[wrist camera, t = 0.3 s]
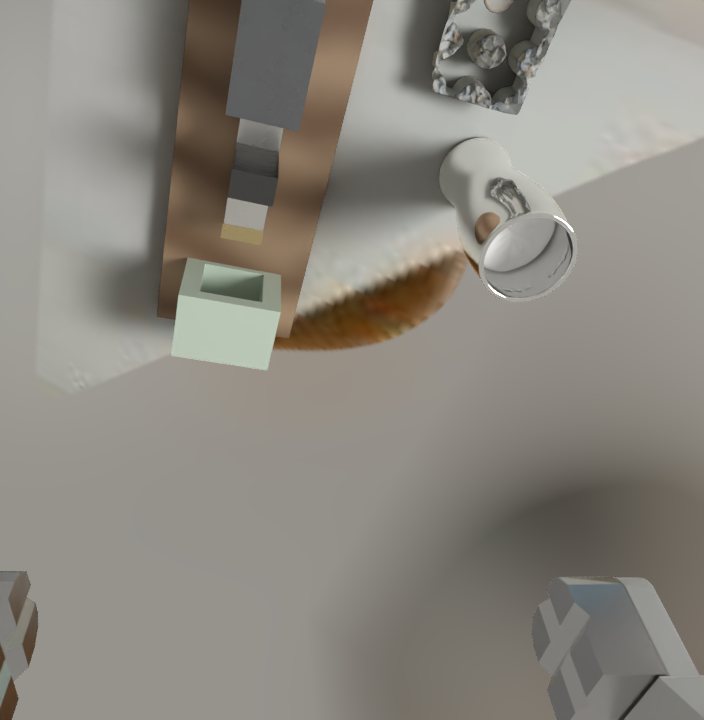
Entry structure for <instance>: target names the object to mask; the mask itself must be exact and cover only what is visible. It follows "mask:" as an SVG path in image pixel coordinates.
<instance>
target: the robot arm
mask: <svg viewBox="0 0 704 720" xmlns="http://www.w3.org/2000/svg"><path fill="white" fill-rule="evenodd" d="M30 585H31V584H30V581H29V578H28V574H27V572H26V571H25V572H23V571H0V720H12V718H13V714H14V711H15V708H16V705H17V702H18V695H17V692H16V689H15V685H14V681H15V680H16V679H17V678H18V677H19V676H20V675H21V674H22V673H23V672H24V671H25V670H26V669H27V668H28V667H29V664H30V661H31V658H32V654H33V651H34V648H35V642H36V636H37V630H38V611H37V607H36V603H35V602H34V601H32V600H31V599H29V598H28V597H27V595H28V592H29V589H30ZM547 591H548V594H549V597H550V598H549V599H548V600H546V601H545V602H543V603H541V604H539V605H538V607H537V609H536V612H535V613H534V616H533V620H532V639H533V646H534V650H535V653H536V656H537V660H538V662H539V664H540V665H541V666H542V667H543V668H544V669H545V670H546V671H547V672H548V673H549V674H550V675H551V676H552V677H551V680H550V683H549V686H548V689H547V691H548V694H549V697H550V700H551V703H552V706H553V709H554V712H555V715H556V718H557V720H704V675H703V676H702V675H699V674H698V672H697V670H696V668H695V666H694V664H693V662H692V660H691V658H690V656H689V654H688V652H687V651H686V649H685V647H684V645H683V643H682V641H681V639H680V637H679V635H678V633H677V631H676V629H675V628H674V626H673V624H672V622H671V620H670V618H669V616H668V614H667V612H666V610H665V609H664V607H663V605H662V603H661V601H660V599H659V597H658V595H657V593H656V591H655V589H654V587H653V586H652V584H651V583H649V582H648V581H647V580H646V579H643V578H613V577H558V578H556V579H554V580H552V582H551V583H550V585H549V587H548V588H547Z"/></svg>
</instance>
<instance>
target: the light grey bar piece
mask: <svg viewBox="0 0 704 720" xmlns="http://www.w3.org/2000/svg"><path fill="white" fill-rule="evenodd" d="M283 129H284V128H279V127H275V126H271V125H267V124H263V123H258V122H254V121H250V120H246V119H242V118H240V123H239V130H238V136H237V142H236V148H235V154H234V160H233V166H232V172H231V178H230V185H229V191H228V197H227V198H228V199H227V205H226V208H225V214H224V220H223V226H222V232H221V238H225V239H230V240H235V241H240V242H246V243H251V244H256V245H261V243H262V238H263V233H264V224H265V219H266V214H267V209H268V206H270V207H273V203H274V198H275V193H276V188H277V183H278V174H279V149H280V144H281V139H282V134H283Z"/></svg>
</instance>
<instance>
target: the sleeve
mask: <svg viewBox="0 0 704 720" xmlns="http://www.w3.org/2000/svg"><path fill="white" fill-rule="evenodd" d="M325 7H326V2H325V0H242V3H241V10H240V17H239V24H238V30H237V37H236V44H235V51H234V58H233V65H232V72H231V79H230V86H229V92H228V99H227V106H226V113H225V115H229V116H233V117H237V118H242V119H246V120H250V121H254V122H258V123H263V124H267V125H271V126H275V127H279V128H284V129H288V130H292V131H296V132H299V129H300V124H301V120H302V115H303V110H304V105H305V101H306V96H307V91H308V87H309V82H310V77H311V73H312V68H313V63H314V59H315V54H316V49H317V45H318V40H319V35H320V30H321V26H322V21H323V16H324V12H325Z"/></svg>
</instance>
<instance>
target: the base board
mask: <svg viewBox="0 0 704 720" xmlns="http://www.w3.org/2000/svg"><path fill="white" fill-rule="evenodd" d="M325 2H326V7H325V12H324V16H323V21H322V26H321V30H320V35H319V40H318V45H317V49H316V54H315V59H314V63H313V68H312V73H311V77H310V82H309V87H308V91H307V96H306V101H305V105H304V110H303V115H302V120H301V124H300V129H299V132H296V131H292V130H288V129H283V134H282V139H281V144H280V149H279V174H278V183H277V188H276V193H275V198H274V203H273V207H270V206H268V209H267V214H266V219H265V224H264V233H263V238H262V243H261V245H256V244H251V243H246V242H240V241H235V240H230V239H225V238H221V232H222V226H223V220H224V214H225V208H226V205H227V199H228V198H227V197H228V191H229V185H230V178H231V172H232V166H233V160H234V154H235V148H236V142H237V136H238V130H239V123H240V118H237V117H233V116H229V115H225V113H226V106H227V99H228V92H229V86H230V79H231V72H232V65H233V58H234V51H235V44H236V37H237V30H238V24H239V17H240V10H241V3H242V0H189V10H188V20H187V29H186V39H185V49H184V58H183V68H182V78H181V87H180V97H179V107H178V116H177V126H176V136H175V146H174V155H173V165H172V175H171V184H170V194H169V204H168V213H167V223H166V233H165V242H164V252H163V262H162V271H161V281H160V291H159V301H158V310H157V317H163V318H169V319H175V320H176V312H177V303H178V295H179V291H180V287H181V283H182V279H183V275H184V271H185V266H186V262H187V258H193V259H198V260H204V261H209V262H215V263H220V264H225V265H231V266H236V267H241V268H247V269H252V270H257V271H263V272H268V273H274V274H279V275H281V314H280V318H279V322H278V326H277V331H276V335H275V336H278V337H284V338H289V335H290V331H291V327H292V323H293V319H294V315H295V311H296V307H297V303H298V299H299V295H300V291H301V287H302V283H303V279H304V275H305V271H306V267H307V263H308V259H309V255H310V251H311V247H312V243H313V239H314V235H315V231H316V227H317V223H318V219H319V215H320V211H321V207H322V203H323V199H324V195H325V191H326V187H327V183H328V179H329V175H330V171H331V167H332V163H333V159H334V155H335V151H336V147H337V143H338V139H339V135H340V131H341V127H342V123H343V119H344V115H345V111H346V107H347V103H348V99H349V95H350V91H351V87H352V83H353V79H354V75H355V71H356V67H357V63H358V59H359V55H360V51H361V47H362V43H363V39H364V35H365V31H366V27H367V23H368V19H369V15H370V11H371V7H372V3H373V0H325Z"/></svg>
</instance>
